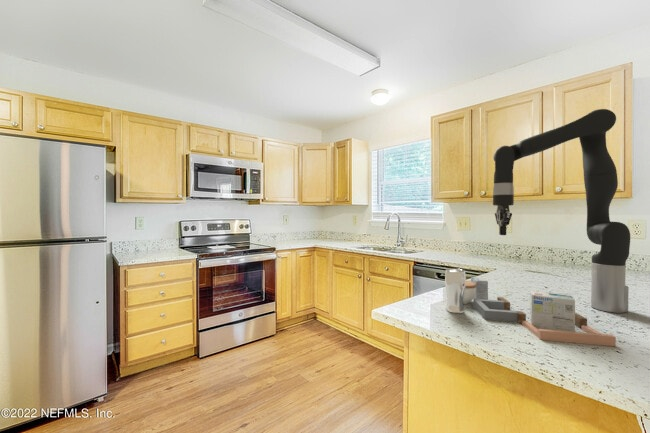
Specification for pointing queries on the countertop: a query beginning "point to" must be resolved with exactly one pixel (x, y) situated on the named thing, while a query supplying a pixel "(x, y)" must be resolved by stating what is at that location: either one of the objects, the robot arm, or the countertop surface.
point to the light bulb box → (552, 311)
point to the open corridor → (522, 316)
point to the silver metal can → (455, 289)
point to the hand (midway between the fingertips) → (502, 235)
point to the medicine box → (480, 288)
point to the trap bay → (494, 310)
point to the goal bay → (573, 335)
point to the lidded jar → (469, 292)
